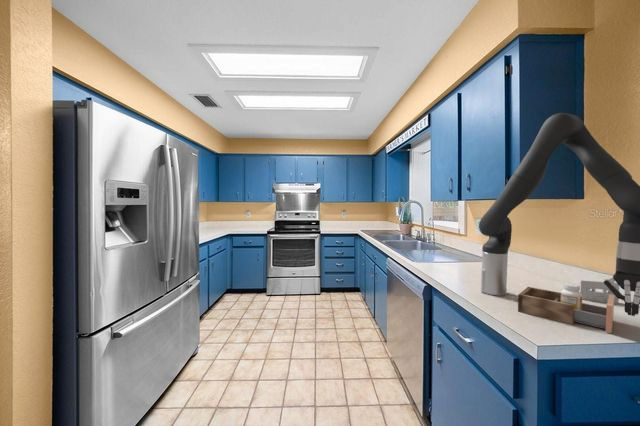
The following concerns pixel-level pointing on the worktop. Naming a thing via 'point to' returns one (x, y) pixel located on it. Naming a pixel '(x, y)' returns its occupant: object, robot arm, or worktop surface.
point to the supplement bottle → (572, 295)
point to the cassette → (596, 296)
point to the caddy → (545, 305)
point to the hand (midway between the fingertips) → (631, 314)
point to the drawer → (595, 314)
